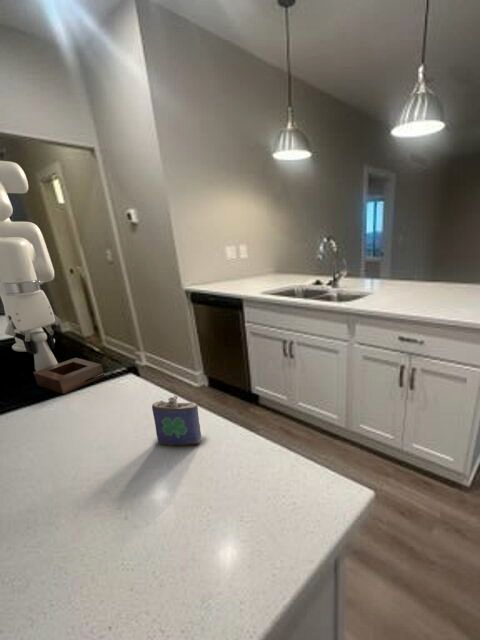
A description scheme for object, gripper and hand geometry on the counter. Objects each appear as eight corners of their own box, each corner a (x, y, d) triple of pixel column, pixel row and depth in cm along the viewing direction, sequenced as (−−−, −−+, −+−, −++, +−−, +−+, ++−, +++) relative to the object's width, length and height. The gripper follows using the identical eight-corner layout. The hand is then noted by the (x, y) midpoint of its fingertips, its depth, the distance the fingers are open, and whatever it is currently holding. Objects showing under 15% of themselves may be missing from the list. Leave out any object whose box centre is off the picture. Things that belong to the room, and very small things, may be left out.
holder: (37, 385, 96) (33, 372, 95) (79, 369, 106) (75, 357, 105) (63, 394, 91) (59, 380, 90) (104, 376, 101) (101, 364, 100)
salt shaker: (48, 378, 100) (35, 336, 95) (32, 377, 101) (18, 335, 96) (65, 370, 105) (53, 330, 100) (49, 369, 106) (36, 328, 101)
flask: (203, 438, 73) (197, 394, 69) (199, 447, 70) (192, 401, 66) (161, 437, 73) (152, 393, 69) (155, 445, 71) (145, 400, 67)
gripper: (46, 281, 102) (63, 340, 109) (-23, 292, 88) (1, 358, 95) (62, 283, 99) (78, 343, 106) (-7, 294, 85) (16, 362, 92)
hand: (41, 349), depth 100 cm, fingers closed on salt shaker, 4 cm apart
